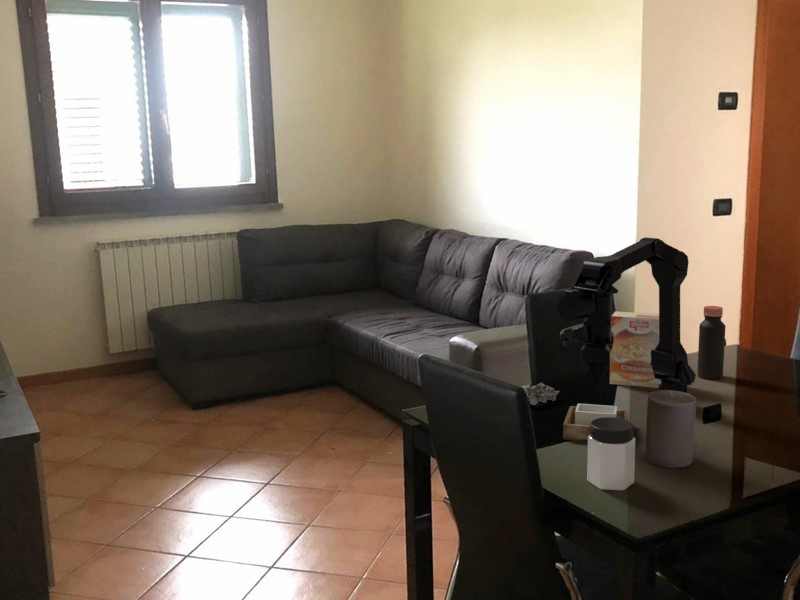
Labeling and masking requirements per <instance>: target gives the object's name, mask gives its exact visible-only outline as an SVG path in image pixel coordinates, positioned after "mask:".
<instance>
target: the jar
mask: <svg viewBox="0 0 800 600" xmlns="http://www.w3.org/2000/svg"><path fill="white" fill-rule="evenodd" d="M634 427H635V426H634V424H633V422H631V421H630V420H628V421H627V420H624V419H620V418H612V417H605V418H598V419H595V420H593V421H592V422H591V424H590V435H589V436H588V441H587V461H586V462H587V463H586V464H587V468H586V470H587V471H586V475H587V476H586V480H587V482H589V483H590V484H592V485H593V486H595V487H596V488H598V489H599V490H602V491H603V490H604V491H605V490H606V491H608V490H609V491H625V490H626V489H628V488H629V487H630V486H632V485H633V484H634V483H635V462H636V458H635V457H636V438H635V436H634Z"/></svg>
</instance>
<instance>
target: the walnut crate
mask: <svg viewBox="0 0 800 600" xmlns="http://www.w3.org/2000/svg"><path fill="white" fill-rule="evenodd" d="M576 407H577V405H570V406H569V408H568V411H567V413H566V416H565V418H564V421H563V424H562V440H566V441H567V440H568V441H577V442H579V441H580V442H588V436H589V435H590V425H577V424H575V411H576ZM629 411H630V410H628V409H617V418H620V419H624V420H627V421H629Z"/></svg>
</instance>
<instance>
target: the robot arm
mask: <svg viewBox="0 0 800 600" xmlns="http://www.w3.org/2000/svg"><path fill="white" fill-rule="evenodd" d="M643 262H647V263H648V264H649V265H650V267H651V268H650V269H651V275H652V278H654V281H655V283H657V285H658V314H659V344H658V345H657V347H656V348H655V350H651V363H650V365H652V370H653V373H654V377H655V379H660V380H661V384H659V386H658V388H657V389H658V390H657V391H659V390H672V391H679V392H684V393H688V386H691V385H692V384H694V383H695V379H696V375H697V373H696V372H695V371H694V370H693V368H692V367H691V366H690V365H689V360H688V358H689V357H688V353H687V351H686V349H685V348H684V346H683V344H682V343H681V285H682V284H683V282H684V280H685V279H686V278H687V275H688V269H689V263H690V260H689V257H688V255H687V254H686V253H685V252H684V251H682V250H680V249H677V248H676V247H674V246H672V245H669V244H668V243H665V241H664V240H662V239H660V238H656V237H647V236H646V237H642V238H640V239H639V241H637V242H634V243H632V244H631V245H628V246H626V247H624V248H622V249H621V250H618V251H616V252H614V253H613V254H611V255H605V256H595V257H591V258H588V259H586V260H585V261H584V262H583V263H582V266H581V268H580V270H579V273H578V274H577V277H576V279H575V280H574V283H572V287H571V289H567V290H564V295H563V296H562V297H560V300H559V302H558V303H557V311H558V314H559V317H560V318H561V319H563V320H564V321H566V322H572V321H578V320H582V319H584V320H583V322H582V323H579V324H576V325H573V326H569V327H566V328H563V329H561V330H560V332H559V337H560V341H561V342H562V344H563V346H564V347H567V346H570V345H572V344H575V343H579V342H581V341H582V343H583V344H584V345H583V346H581V350H580V360H581V361H582V362H584V363H585V364H586V365H587V366H588V368H589V373H590V376H591V380H592V381H591V382H592V385H593V387H595V388H596V387H599V386H600V383H601V381H602V379H603V377H604V375H605V372H606V369H607V368H608V365H609V363H610V354H611V350H612V347H613V343H614V333H613V332H612V331H611V322H612V301H613V299H612V295H614V294H617V293H619V290H618V288H617V287H615V286H614V284H615V283H616V282H618V281H619V280H620V279H621V277H622V274H623V273H624V272H625V271H628V270H629V269H632V268H635V266H638V265H639V264H641V263H643Z"/></svg>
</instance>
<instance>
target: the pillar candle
mask: <svg viewBox="0 0 800 600" xmlns="http://www.w3.org/2000/svg"><path fill="white" fill-rule="evenodd" d="M646 404H647V407H646V431H645V454H644V459H645V461H647V462H648V463H651V464H653V465H655V466H659V467H663V468H671V469H679V467H682V468H686V467H685V466H687V467H689V466H691V465H692V464H693V461H694V448H695V447H694V444H695V433H696V432H695V430H696V429H695V428H696V427H695V426H696V413H697V412H696V410H697V398H696V397H695V396H694V395H692V394H690V393H688V392H687V393H684V392H679V391H672V390H659V391H658V390H655V391H651V392H649V393H648V395H647V403H646ZM691 463H692V464H691ZM690 464H691V465H690ZM688 465H689V466H688Z"/></svg>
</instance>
